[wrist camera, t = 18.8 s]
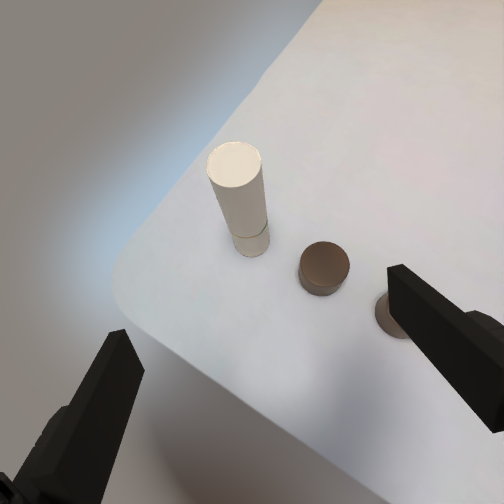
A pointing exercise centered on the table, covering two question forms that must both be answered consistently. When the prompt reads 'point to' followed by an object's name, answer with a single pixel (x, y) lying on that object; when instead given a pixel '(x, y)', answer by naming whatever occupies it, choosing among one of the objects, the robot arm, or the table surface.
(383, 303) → the brown short cylinder
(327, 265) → the disc
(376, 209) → the table surface
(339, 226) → the table surface
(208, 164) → the tube
